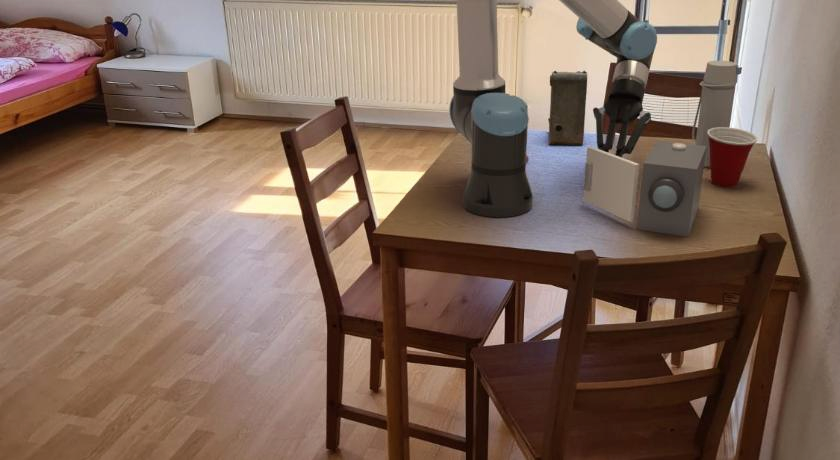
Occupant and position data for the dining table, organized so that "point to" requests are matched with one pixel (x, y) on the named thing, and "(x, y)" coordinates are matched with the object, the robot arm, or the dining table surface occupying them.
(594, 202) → the side door
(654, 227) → the camera housing
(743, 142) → the plastic cup
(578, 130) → the vintage camera
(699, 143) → the water bottle
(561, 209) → the dining table surface
